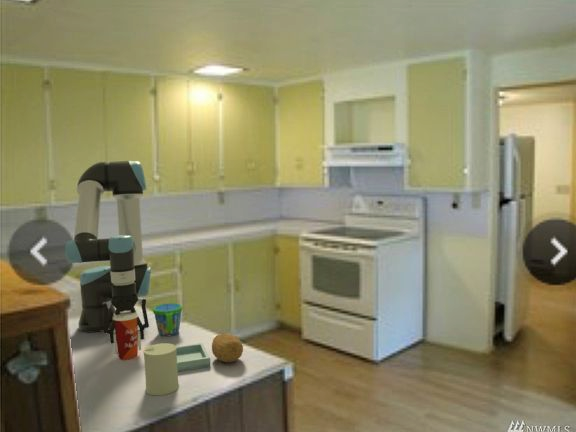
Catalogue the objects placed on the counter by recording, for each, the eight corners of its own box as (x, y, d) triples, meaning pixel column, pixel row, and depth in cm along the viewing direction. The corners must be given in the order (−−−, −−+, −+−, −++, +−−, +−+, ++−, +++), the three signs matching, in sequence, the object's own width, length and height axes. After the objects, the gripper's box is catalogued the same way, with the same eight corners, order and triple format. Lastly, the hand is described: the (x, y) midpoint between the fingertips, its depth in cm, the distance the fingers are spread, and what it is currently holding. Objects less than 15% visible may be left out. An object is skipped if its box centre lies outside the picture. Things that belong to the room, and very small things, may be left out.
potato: (233, 350, 172) (232, 327, 171) (250, 364, 160) (249, 339, 159) (205, 356, 167) (204, 332, 166) (221, 371, 155) (219, 345, 154)
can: (148, 382, 149) (146, 342, 147) (180, 380, 150) (178, 340, 148) (142, 396, 140) (140, 354, 138) (176, 394, 140) (174, 352, 139)
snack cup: (183, 339, 184) (181, 311, 183) (153, 341, 182) (151, 314, 181) (183, 325, 199) (182, 300, 198) (155, 328, 197) (154, 302, 196)
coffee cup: (133, 362, 164) (130, 316, 162) (110, 360, 166) (107, 316, 164) (145, 352, 172) (143, 309, 171) (123, 351, 174) (120, 308, 172)
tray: (163, 356, 168) (163, 348, 167) (203, 350, 172) (202, 342, 172) (167, 373, 155) (167, 364, 154) (210, 366, 159) (210, 357, 158)
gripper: (90, 288, 159) (95, 359, 162) (155, 282, 166) (159, 350, 168) (91, 283, 167) (96, 351, 169) (153, 277, 173) (157, 342, 175)
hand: (128, 350), depth 169 cm, fingers closed on coffee cup, 7 cm apart
